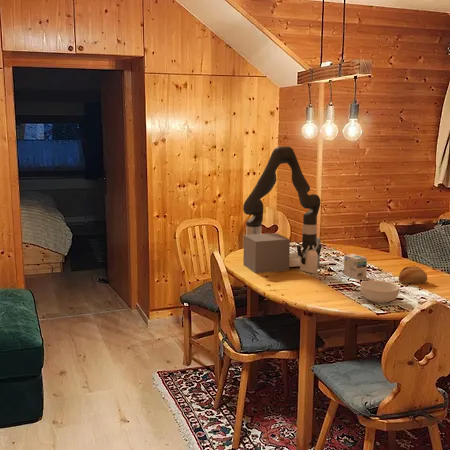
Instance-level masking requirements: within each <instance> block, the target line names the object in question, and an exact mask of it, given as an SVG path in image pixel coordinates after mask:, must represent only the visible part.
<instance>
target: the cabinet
mask: <svg viewBox="0 0 450 450" xmlns="http://www.w3.org/2000/svg"><path fill="white" fill-rule="evenodd" d="M290 245H291V239H290V238H288V237H286V236H284V235H281V234H280V233H278V232H271V233H270V232H269V233H261V234H252V235H246V234H244V235H243V266H244V267H245V268H247V269H248V270H250V271H251V272H253V273H254V274H260V273H272V272H273V273H274V272H285V271H290V267H289V253H291V252H290V247H291V246H290Z"/></svg>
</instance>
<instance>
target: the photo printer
mask: <svg viewBox="0 0 450 450" xmlns="http://www.w3.org/2000/svg"><path fill="white" fill-rule="evenodd" d="M302 250H303V248H302V249H301V252H302ZM317 263H318V254H317V252H316V251H314V250H309V251H308V252H307V254H306V256H305V264H302V262H301V257H300V266H299V270H300V271H302V272H306V273H309V274H315V275H316V274H317V273H318V266H317Z"/></svg>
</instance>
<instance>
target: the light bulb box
mask: <svg viewBox="0 0 450 450" xmlns="http://www.w3.org/2000/svg"><path fill="white" fill-rule="evenodd" d="M343 256H344V257H343V275H345V276H347V277H350V278H353V279H355V280H360V279H367V272H368V271H367V270H368V269H367V268H368V267H367V266H368V257H366V256H363V255H359V254H355V253H347V254H344V255H343Z"/></svg>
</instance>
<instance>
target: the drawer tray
mask: <svg viewBox="0 0 450 450" xmlns="http://www.w3.org/2000/svg"><path fill="white" fill-rule="evenodd" d="M316 243H317V244H318V243H319V244H321V238H320V237H317V241H316ZM316 249H317V246H316V247H315V251H316ZM320 259H321V254H320V255H318V263H317V268H319V267H320V265H321V263H320V261H321V260H320ZM292 267H293V268H295V267H300V256H298V252H297V251H296V252H295V251H294V252H290V253H289V268H292Z"/></svg>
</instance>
